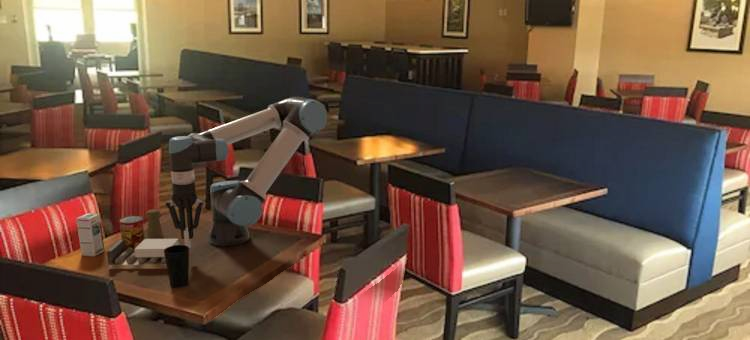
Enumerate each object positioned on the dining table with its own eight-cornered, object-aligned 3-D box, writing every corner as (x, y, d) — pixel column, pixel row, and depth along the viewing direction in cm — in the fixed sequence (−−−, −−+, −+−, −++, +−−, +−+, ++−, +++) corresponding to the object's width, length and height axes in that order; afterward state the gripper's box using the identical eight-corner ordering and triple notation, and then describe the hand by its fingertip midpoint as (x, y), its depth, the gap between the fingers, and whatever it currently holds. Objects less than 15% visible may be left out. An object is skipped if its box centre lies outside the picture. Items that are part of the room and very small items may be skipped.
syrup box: (95, 256, 221) (90, 218, 218) (80, 255, 222) (75, 217, 219) (105, 251, 227) (100, 213, 223) (90, 250, 228) (86, 212, 224)
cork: (166, 236, 242) (164, 209, 239) (153, 240, 237) (151, 213, 234) (156, 233, 245) (154, 207, 242) (143, 237, 240) (141, 211, 238)
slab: (179, 246, 220) (178, 238, 219) (170, 257, 210) (169, 248, 209) (145, 246, 220) (144, 238, 219) (135, 257, 210) (134, 249, 209)
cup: (170, 279, 201) (167, 245, 198) (194, 278, 202) (191, 244, 199) (164, 289, 193) (161, 254, 191) (189, 288, 194) (186, 253, 191)
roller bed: (183, 255, 222) (182, 238, 220) (173, 268, 210) (171, 250, 209) (122, 256, 222) (120, 239, 220) (108, 269, 210) (106, 251, 208)
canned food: (118, 251, 226) (115, 220, 224) (137, 244, 233) (134, 214, 230) (131, 255, 222) (128, 224, 219) (150, 248, 228) (147, 218, 226)
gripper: (160, 184, 205) (166, 251, 211) (199, 184, 205) (204, 251, 211) (167, 179, 213) (172, 243, 218) (205, 179, 213) (209, 243, 218)
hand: (188, 247), depth 215 cm, fingers closed
